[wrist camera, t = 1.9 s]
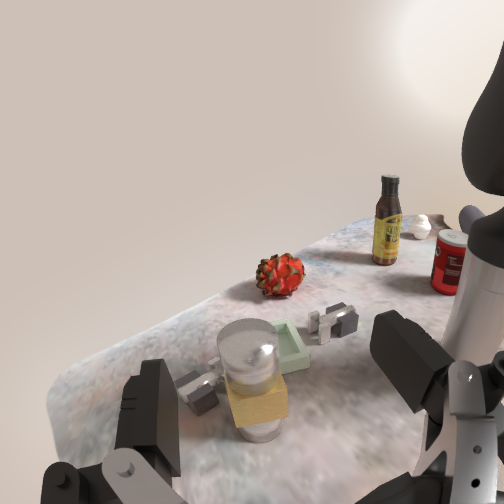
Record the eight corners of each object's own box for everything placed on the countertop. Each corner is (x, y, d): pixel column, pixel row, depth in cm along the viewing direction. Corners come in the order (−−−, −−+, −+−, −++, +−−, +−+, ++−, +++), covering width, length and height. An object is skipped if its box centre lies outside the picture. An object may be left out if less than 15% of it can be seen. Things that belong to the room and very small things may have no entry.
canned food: (441, 273, 54) (449, 226, 50) (468, 288, 47) (479, 238, 43) (422, 283, 52) (430, 233, 47) (450, 300, 45) (462, 247, 40)
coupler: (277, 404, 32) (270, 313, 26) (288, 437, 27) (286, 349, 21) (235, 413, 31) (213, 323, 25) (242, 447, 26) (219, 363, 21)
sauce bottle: (385, 269, 59) (390, 179, 51) (366, 259, 65) (369, 174, 57) (402, 261, 61) (409, 177, 54) (384, 252, 67) (388, 172, 59)
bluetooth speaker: (497, 267, 52) (505, 229, 48) (467, 263, 56) (474, 224, 52) (479, 235, 69) (484, 205, 65) (455, 232, 74) (458, 201, 70)
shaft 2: (321, 345, 41) (322, 328, 39) (307, 330, 44) (307, 313, 43) (358, 329, 43) (360, 312, 41) (342, 316, 46) (344, 299, 45)
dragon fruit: (254, 310, 54) (297, 293, 61) (281, 300, 47) (325, 281, 54) (238, 268, 55) (282, 256, 63) (262, 252, 49) (309, 241, 56)
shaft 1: (220, 372, 38) (216, 355, 36) (240, 389, 35) (236, 372, 33) (177, 397, 34) (170, 380, 32) (195, 417, 30) (188, 402, 29)
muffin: (433, 241, 70) (436, 217, 67) (415, 242, 70) (418, 218, 68) (423, 233, 75) (425, 210, 73) (406, 234, 76) (408, 211, 73)
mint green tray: (290, 329, 45) (290, 317, 44) (309, 367, 37) (310, 355, 36) (235, 341, 44) (233, 329, 43) (245, 382, 36) (242, 370, 35)
